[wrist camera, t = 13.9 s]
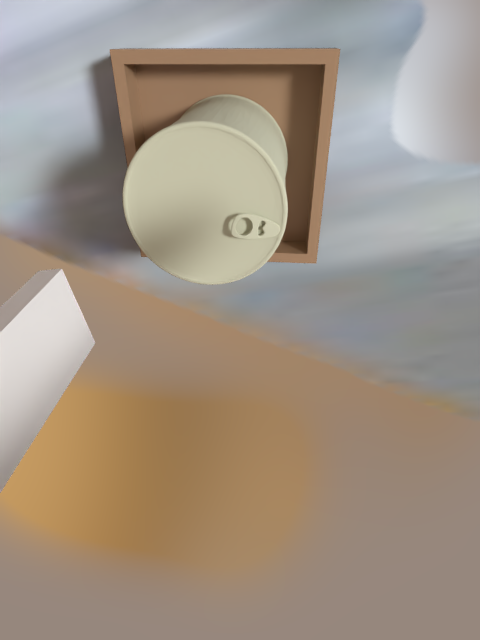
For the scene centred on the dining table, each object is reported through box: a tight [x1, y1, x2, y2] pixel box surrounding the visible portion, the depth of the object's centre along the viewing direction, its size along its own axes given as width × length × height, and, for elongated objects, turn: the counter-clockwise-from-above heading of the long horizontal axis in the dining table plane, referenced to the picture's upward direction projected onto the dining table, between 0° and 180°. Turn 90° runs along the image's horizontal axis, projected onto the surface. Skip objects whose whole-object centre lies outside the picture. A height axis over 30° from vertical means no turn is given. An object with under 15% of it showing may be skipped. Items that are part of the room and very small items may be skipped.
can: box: [123, 94, 288, 285], centre depth 27 cm, size 9×9×12 cm
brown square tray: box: [110, 48, 340, 263], centre depth 31 cm, size 15×15×3 cm
